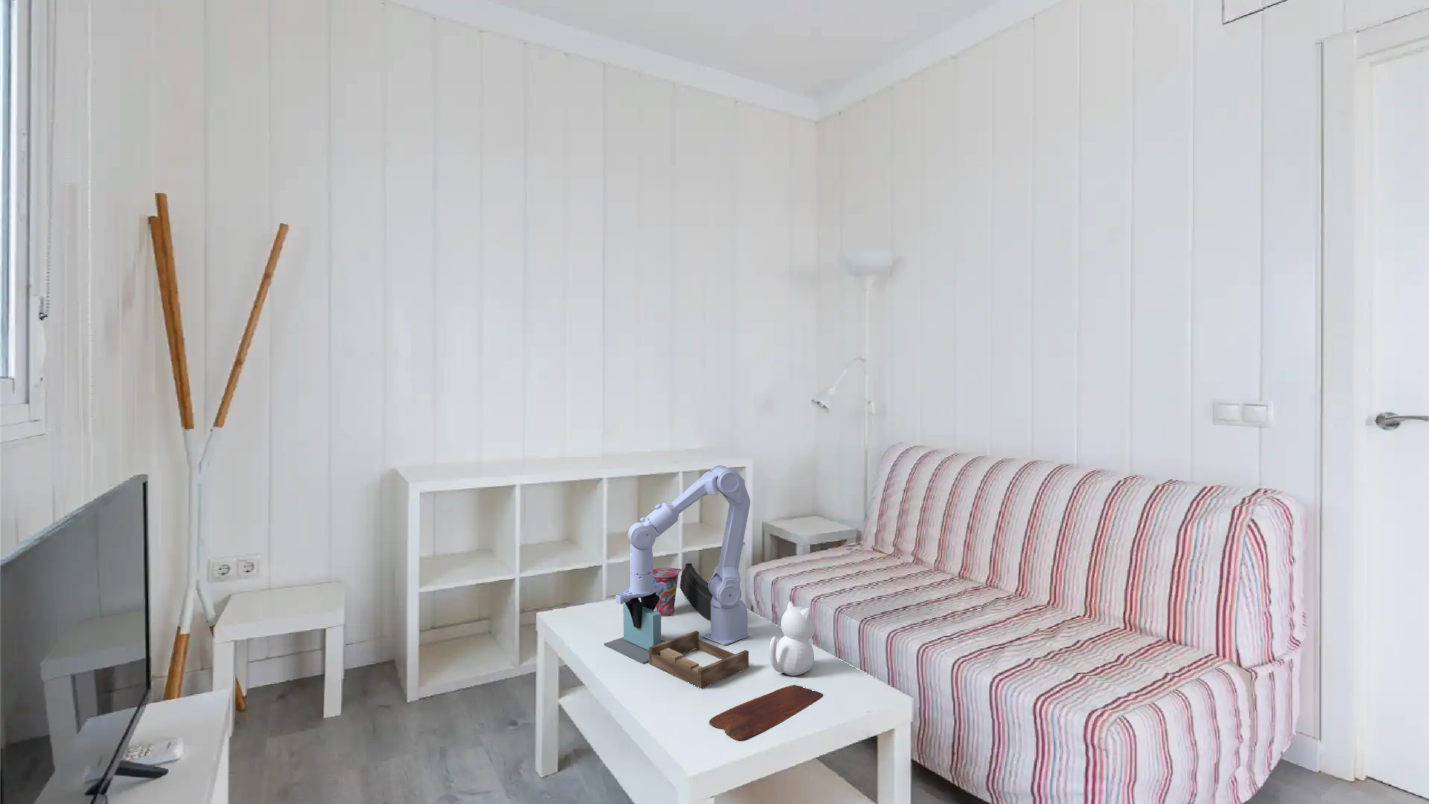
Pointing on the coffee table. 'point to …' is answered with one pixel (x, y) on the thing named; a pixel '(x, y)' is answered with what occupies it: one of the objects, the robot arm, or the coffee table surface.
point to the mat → (630, 649)
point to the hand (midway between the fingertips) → (642, 625)
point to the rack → (705, 674)
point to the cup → (667, 597)
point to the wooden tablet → (764, 712)
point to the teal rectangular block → (643, 628)
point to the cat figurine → (794, 642)
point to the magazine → (696, 591)
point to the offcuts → (680, 659)
